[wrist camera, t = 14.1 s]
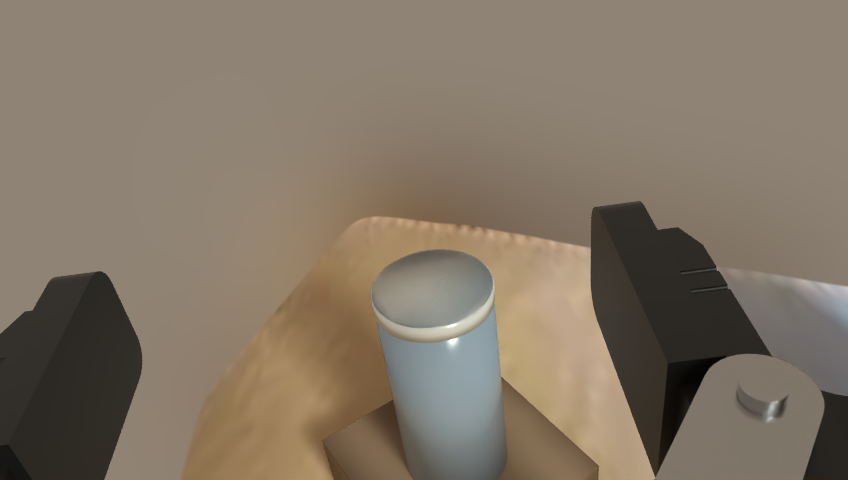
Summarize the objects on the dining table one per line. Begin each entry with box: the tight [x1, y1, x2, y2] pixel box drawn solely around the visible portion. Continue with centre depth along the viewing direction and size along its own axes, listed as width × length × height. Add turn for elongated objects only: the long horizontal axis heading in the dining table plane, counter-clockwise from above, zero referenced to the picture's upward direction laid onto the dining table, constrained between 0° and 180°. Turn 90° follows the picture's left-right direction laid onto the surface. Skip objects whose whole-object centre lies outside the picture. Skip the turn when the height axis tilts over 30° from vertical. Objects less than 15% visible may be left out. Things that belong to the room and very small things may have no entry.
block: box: [322, 377, 599, 480], centre depth 42 cm, size 11×11×4 cm
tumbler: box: [370, 249, 508, 480], centre depth 38 cm, size 6×6×12 cm
